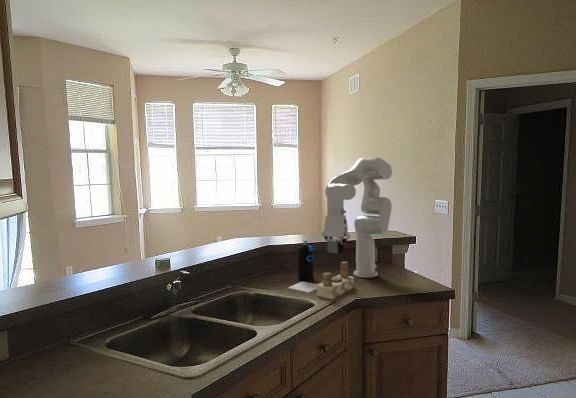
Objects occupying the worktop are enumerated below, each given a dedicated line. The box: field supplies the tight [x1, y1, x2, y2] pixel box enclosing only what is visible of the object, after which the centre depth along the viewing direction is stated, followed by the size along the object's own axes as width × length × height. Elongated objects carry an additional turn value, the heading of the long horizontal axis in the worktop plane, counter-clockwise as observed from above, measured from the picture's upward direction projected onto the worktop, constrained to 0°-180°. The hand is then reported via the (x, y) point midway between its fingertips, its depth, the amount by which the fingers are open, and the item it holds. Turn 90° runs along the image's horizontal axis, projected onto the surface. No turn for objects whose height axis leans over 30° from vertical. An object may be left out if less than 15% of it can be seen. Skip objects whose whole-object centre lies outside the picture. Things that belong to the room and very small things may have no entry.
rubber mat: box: [287, 281, 319, 294], centre depth 182 cm, size 12×12×1 cm
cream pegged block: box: [316, 261, 355, 300], centre depth 175 cm, size 20×8×12 cm, turn 143°
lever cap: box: [326, 238, 346, 254], centre depth 174 cm, size 7×5×6 cm
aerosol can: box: [297, 240, 315, 282], centre depth 195 cm, size 8×8×20 cm
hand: (336, 251), depth 174 cm, fingers closed on lever cap, 5 cm apart
